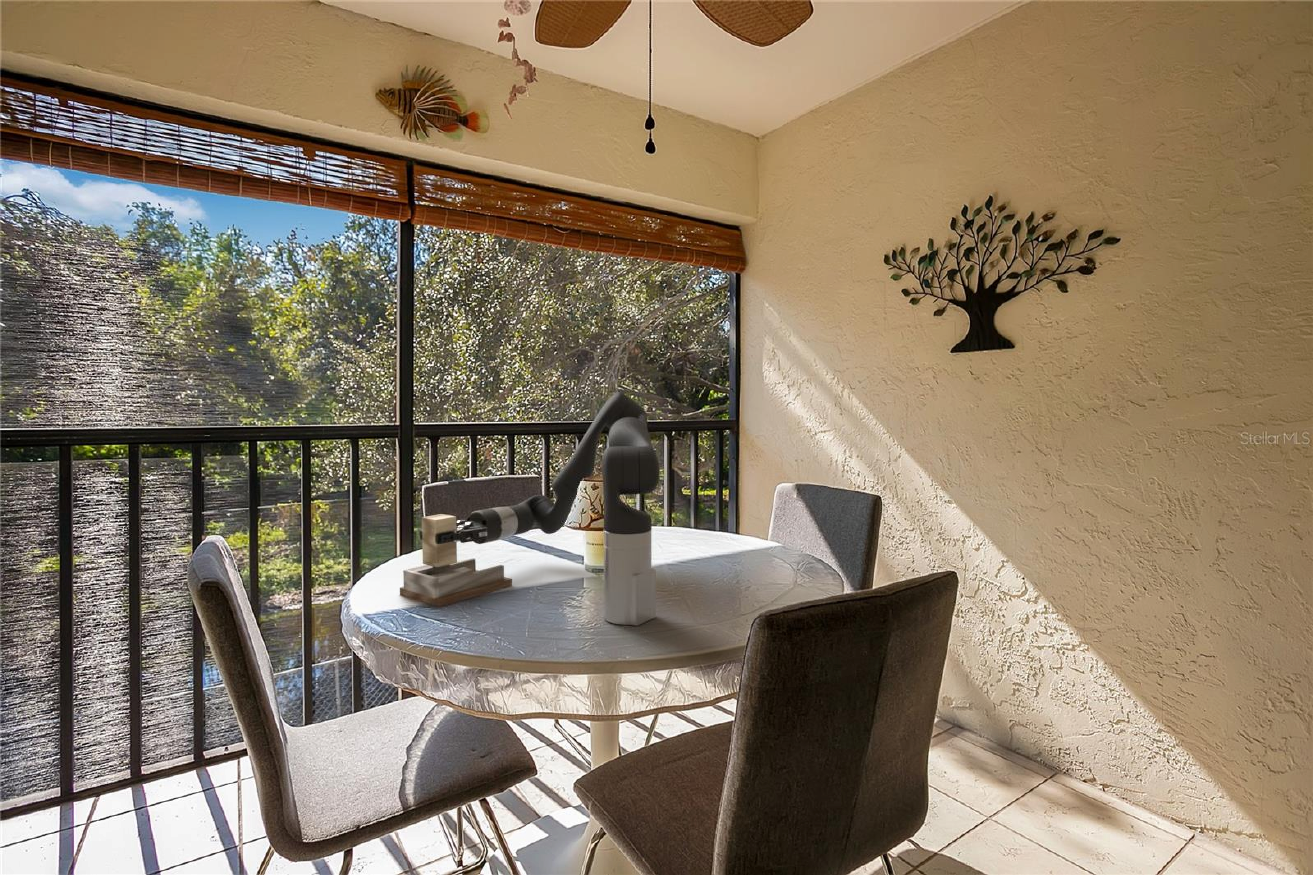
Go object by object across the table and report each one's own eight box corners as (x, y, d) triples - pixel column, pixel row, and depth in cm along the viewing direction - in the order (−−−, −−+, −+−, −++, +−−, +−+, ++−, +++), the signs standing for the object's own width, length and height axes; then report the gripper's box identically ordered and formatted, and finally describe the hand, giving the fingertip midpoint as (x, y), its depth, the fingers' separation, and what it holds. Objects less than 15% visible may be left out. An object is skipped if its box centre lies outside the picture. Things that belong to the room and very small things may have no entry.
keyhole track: (512, 585, 150) (511, 561, 149) (439, 607, 134) (438, 580, 134) (472, 575, 158) (472, 552, 158) (399, 594, 143) (399, 569, 142)
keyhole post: (464, 585, 143) (462, 516, 142) (436, 592, 138) (434, 521, 137) (444, 579, 148) (442, 512, 147) (416, 587, 142) (414, 517, 141)
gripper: (472, 505, 157) (408, 516, 144) (513, 511, 149) (448, 523, 135) (473, 536, 158) (409, 550, 144) (513, 544, 149) (449, 560, 136)
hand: (428, 537), depth 140 cm, fingers closed on keyhole post, 5 cm apart
